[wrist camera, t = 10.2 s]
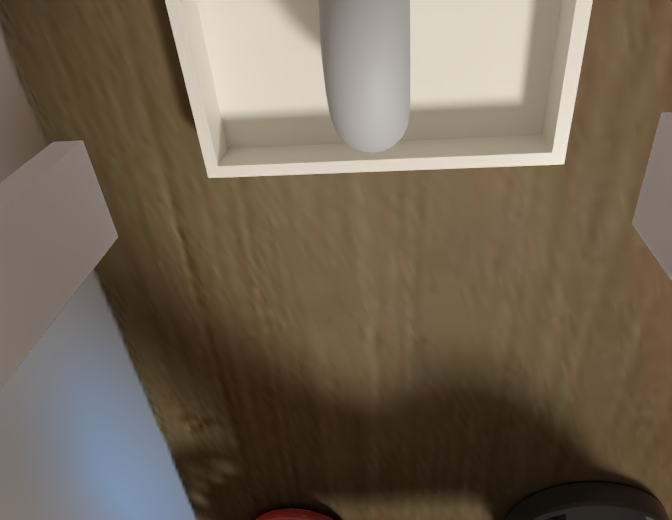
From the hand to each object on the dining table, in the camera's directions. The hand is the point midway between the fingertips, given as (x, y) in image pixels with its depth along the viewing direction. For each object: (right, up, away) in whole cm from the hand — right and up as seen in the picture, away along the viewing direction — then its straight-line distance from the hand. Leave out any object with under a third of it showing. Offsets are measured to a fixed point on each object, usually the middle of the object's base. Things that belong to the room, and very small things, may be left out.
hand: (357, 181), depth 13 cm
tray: (+2, +11, +15) cm, 18 cm away
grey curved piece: (+1, +11, +14) cm, 18 cm away
